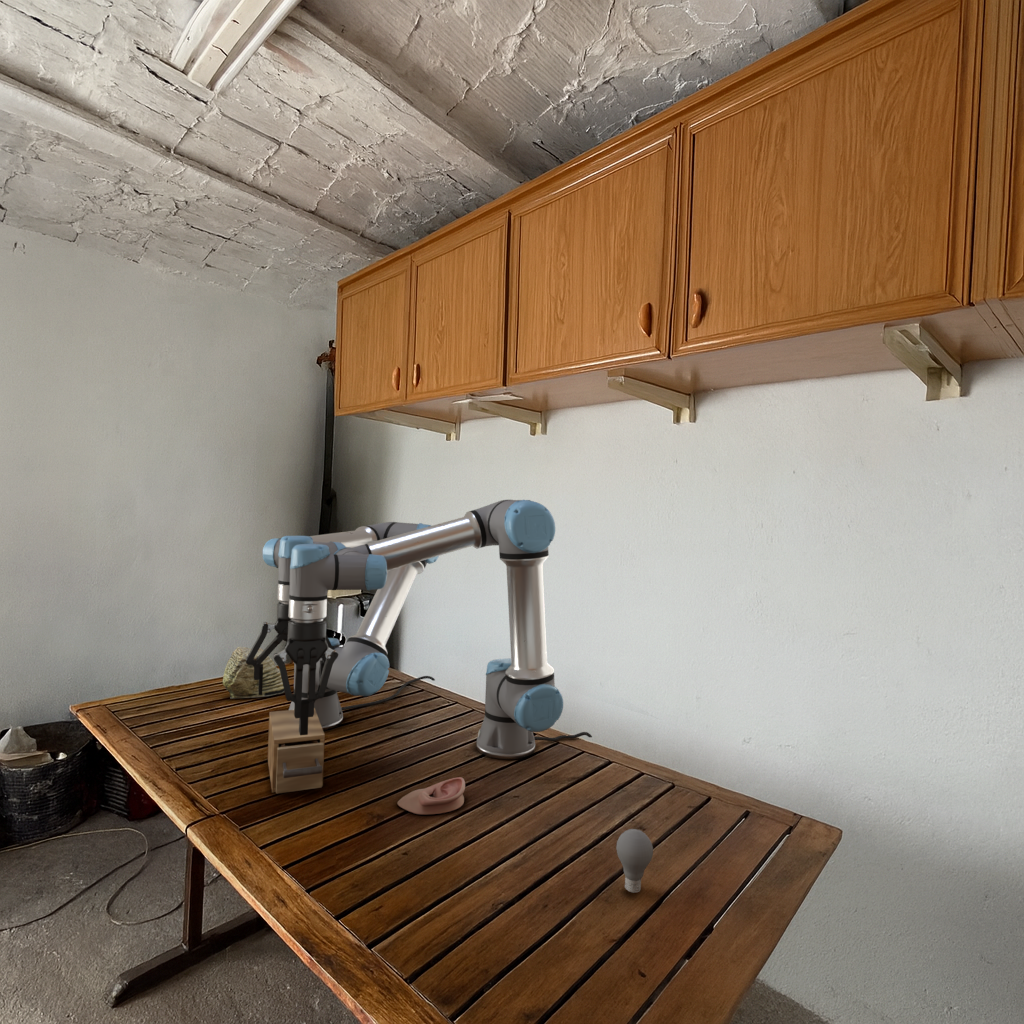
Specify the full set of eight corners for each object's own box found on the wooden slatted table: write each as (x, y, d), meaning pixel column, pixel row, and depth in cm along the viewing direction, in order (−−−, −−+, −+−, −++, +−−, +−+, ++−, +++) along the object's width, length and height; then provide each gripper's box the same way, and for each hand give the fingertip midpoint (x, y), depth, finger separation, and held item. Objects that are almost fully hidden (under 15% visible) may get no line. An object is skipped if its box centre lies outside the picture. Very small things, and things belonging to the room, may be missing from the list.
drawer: (325, 799, 131) (327, 754, 130) (277, 806, 127) (279, 760, 127) (312, 756, 152) (314, 717, 151) (271, 761, 148) (272, 721, 148)
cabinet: (322, 785, 139) (324, 734, 139) (272, 792, 135) (274, 740, 134) (313, 753, 156) (314, 707, 155) (267, 758, 151) (269, 711, 151)
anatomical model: (392, 791, 129) (412, 768, 140) (391, 810, 129) (411, 786, 140) (454, 800, 126) (470, 776, 137) (454, 820, 126) (469, 794, 137)
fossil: (218, 695, 195) (220, 647, 195) (278, 685, 208) (279, 640, 207) (228, 703, 189) (230, 653, 188) (289, 692, 201) (290, 645, 201)
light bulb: (610, 879, 108) (613, 822, 108) (644, 879, 109) (647, 822, 109) (619, 902, 102) (622, 840, 102) (655, 901, 103) (658, 840, 103)
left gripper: (236, 605, 141) (233, 700, 141) (350, 602, 150) (347, 691, 151) (236, 600, 148) (234, 690, 148) (346, 597, 157) (343, 682, 158)
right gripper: (274, 624, 124) (270, 743, 125) (342, 621, 130) (338, 735, 130) (272, 616, 131) (268, 729, 132) (337, 614, 137) (333, 723, 137)
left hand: (291, 691), depth 150 cm, fingers open, 13 cm apart
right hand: (303, 732), depth 131 cm, fingers closed
